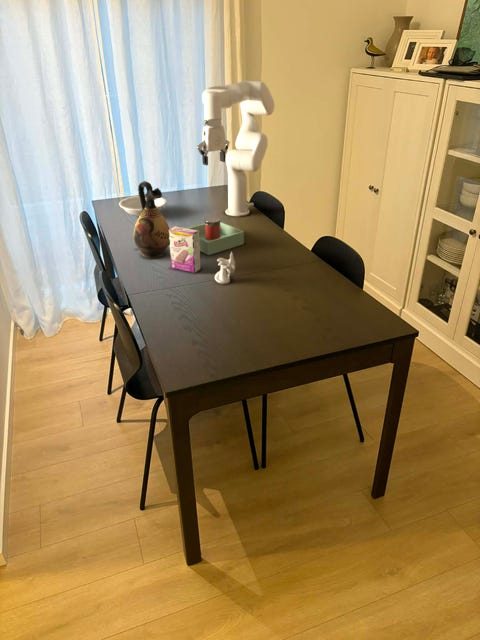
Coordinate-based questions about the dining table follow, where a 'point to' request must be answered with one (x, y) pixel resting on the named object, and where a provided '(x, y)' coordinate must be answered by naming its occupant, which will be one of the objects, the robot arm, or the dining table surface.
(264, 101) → the robot arm
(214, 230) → the red glass jar
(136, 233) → the ceramic jug
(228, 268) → the figurine
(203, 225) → the green square tray
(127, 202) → the soup bowl
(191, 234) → the candy bar box
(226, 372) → the dining table surface
